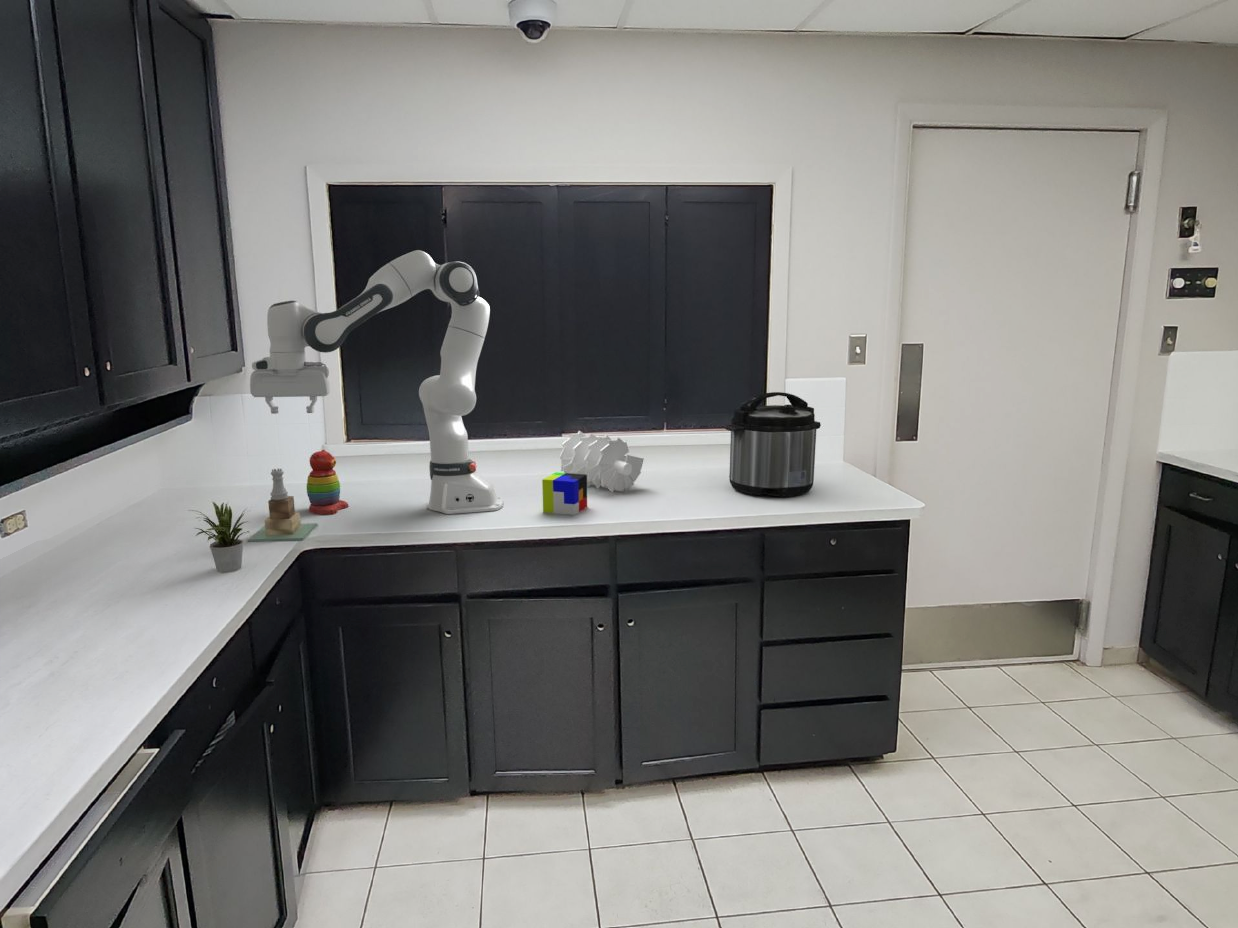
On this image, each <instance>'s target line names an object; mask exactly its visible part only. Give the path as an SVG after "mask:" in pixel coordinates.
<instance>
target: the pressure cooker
mask: <svg viewBox="0 0 1238 928" xmlns="http://www.w3.org/2000/svg"><path fill="white" fill-rule="evenodd" d="M777 396H781V397H786V399H787V401H788V402H789V403H790V404H784V405H781V404H780V405H778V404H777V405H775V404H774V405H760V404H761V403H762V402H763V401H764V400H765V399H769V398H773V397H777ZM808 405H809V404H808V402H807V401H805V399H803V398H801V397H799V396H797V395H795V394H792V393H789V392H783V391H782V392H779V391H773V392H772V391H771V392H765V393H761V394H758V395H755V396H754V397H751V398H749V399H747V400H746V401H744V402H743V403H741V404H740V407H739V409H738V408H737V409H734V411H733V418H732V419H731V424H727V425H725V426H724V429H725V430H726V431H728V432H729V431H730V447H729V448H730V449H729V450H730V451H729V452H730V453H729V476H728V477H729V479H728V480H729V483H730V485H731V487H732V489H734V490H736V491H740V492H742V493H745V494H750V495H755V496H761V495H767V496H771V497H796V496H801V495H805V494H807V493H809V492H810V491H811V489H812V488H813V486H814V479H815V463H816V461H815V460H816V447H817V446H816V441H817V430H818V429H821V428H820V427H821V426H822V425H821V422H820V421H817V420H815V417H816V416H815V408H814V407H811V406H808Z"/></svg>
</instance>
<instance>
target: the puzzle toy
mask: <svg viewBox="0 0 1238 928" xmlns="http://www.w3.org/2000/svg"><path fill="white" fill-rule="evenodd" d="M541 481H542V486H541V487H542V513H544V512H546V513H545V514H557V515H566V514H572V515H571V516H576V515H577V514H579V513H581V512H582V511H583V510H585V509H586V508H588V487H587V475H586V474H572V473H564V472H557V471H556V472H554V473H552V474H549V475H548V476H546V477H545V478H542V480H541ZM585 507H586V508H585ZM584 508H585V509H584ZM581 510H582V511H581ZM578 512H579V513H578ZM575 514H576V515H575Z"/></svg>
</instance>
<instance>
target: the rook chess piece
mask: <svg viewBox="0 0 1238 928" xmlns="http://www.w3.org/2000/svg"><path fill="white" fill-rule="evenodd" d="M284 473H285V472H284V471H283V469H282V468H277V469H276V468H272V469H271V472H270V475H271V476H272V478H271V480H272V490H271V492H270V500H271V499H272V500H275V501H279V500H285V499H287V498H288V496H289V495H288V491H287V490H286V488H285V485H284V477H283V475H284Z"/></svg>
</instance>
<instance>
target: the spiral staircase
mask: <svg viewBox="0 0 1238 928" xmlns="http://www.w3.org/2000/svg"><path fill="white" fill-rule="evenodd" d="M561 445H562V450H561V452H560V454H559V457H558V458H559V459H560V460H561V462H560V463H561V464H560V472H563V473H572V474H586V475H587V488H589V487H590V486H595V487H596V489H600V487H602V488H604V489H608V490H609V491H610V492H611V493H613V492H614V491H618V492H624V491H625V490H626V489H628V488H630V487H632V486H634V485H635V482H636V480H637V479H638V478H639V476H640V475H641V473H642V472H641V471H642V467H643V464H644V460H645V459H644V457H643V458H642V457H638V456H633V455H629V454H628V453H629V452H630V450H629V447H628V444H627V440H622V439H621V438H620V437H618V436H617V437H616V439H611V438H610V436H608V434H605V435H604V437H603V436H599V435H594V434H592V433H591V432H589V434H588V433H586V434H585V433H584V432H582V431H581V430H578V431H577V433H569V438H568V439H566V440H565V441H564V442H563V443H561Z"/></svg>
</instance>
